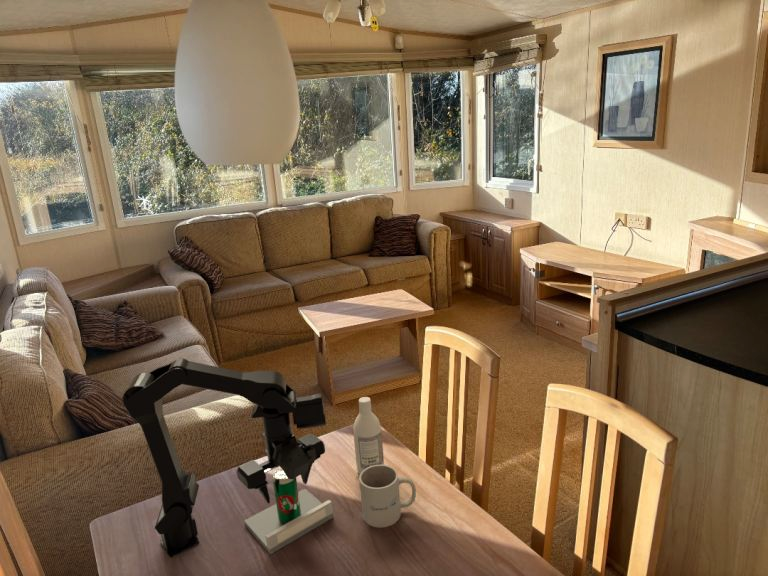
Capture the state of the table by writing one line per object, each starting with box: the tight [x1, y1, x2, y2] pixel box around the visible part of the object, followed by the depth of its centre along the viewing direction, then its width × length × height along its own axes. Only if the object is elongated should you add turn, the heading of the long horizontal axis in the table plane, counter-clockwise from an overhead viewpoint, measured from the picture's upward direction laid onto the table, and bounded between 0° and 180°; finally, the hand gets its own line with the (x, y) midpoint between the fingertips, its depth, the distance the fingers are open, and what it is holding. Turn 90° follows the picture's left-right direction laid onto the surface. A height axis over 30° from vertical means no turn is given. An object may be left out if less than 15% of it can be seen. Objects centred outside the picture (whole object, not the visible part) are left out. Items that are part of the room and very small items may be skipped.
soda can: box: [272, 467, 301, 525], centre depth 122 cm, size 5×5×12 cm
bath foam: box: [352, 396, 385, 475], centre depth 138 cm, size 7×7×20 cm
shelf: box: [243, 488, 334, 555], centre depth 124 cm, size 16×12×4 cm
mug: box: [358, 464, 417, 528], centre depth 124 cm, size 12×9×10 cm
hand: (286, 492), depth 122 cm, fingers open, 9 cm apart
